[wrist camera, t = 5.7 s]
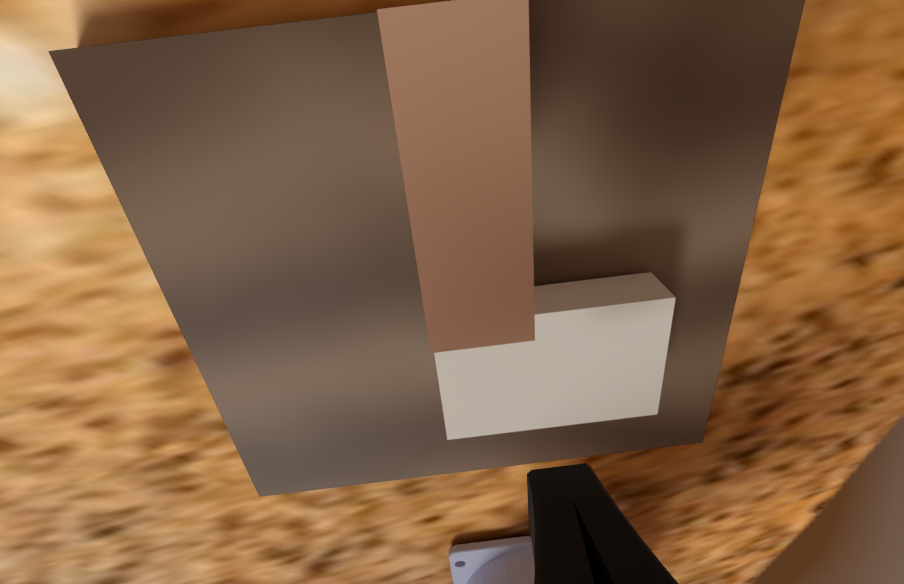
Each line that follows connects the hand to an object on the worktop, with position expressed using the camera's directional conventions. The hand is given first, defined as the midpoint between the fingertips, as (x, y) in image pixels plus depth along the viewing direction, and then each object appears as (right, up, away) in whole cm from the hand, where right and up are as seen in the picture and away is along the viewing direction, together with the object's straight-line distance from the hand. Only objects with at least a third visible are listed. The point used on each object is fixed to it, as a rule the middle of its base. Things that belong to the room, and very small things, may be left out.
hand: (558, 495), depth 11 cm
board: (-2, +5, +5) cm, 7 cm away
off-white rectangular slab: (-3, +2, +4) cm, 6 cm away
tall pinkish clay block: (-3, +9, +1) cm, 10 cm away
